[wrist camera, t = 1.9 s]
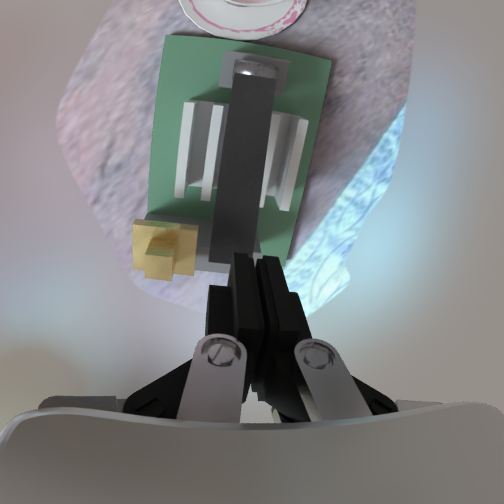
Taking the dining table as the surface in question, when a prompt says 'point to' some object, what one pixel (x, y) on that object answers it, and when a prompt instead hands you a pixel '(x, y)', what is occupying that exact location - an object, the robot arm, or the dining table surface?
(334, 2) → the dining table surface
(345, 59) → the dining table surface
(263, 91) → the strap
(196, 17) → the teacup
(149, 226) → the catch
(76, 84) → the dining table surface
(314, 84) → the board
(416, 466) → the robot arm
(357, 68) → the dining table surface
